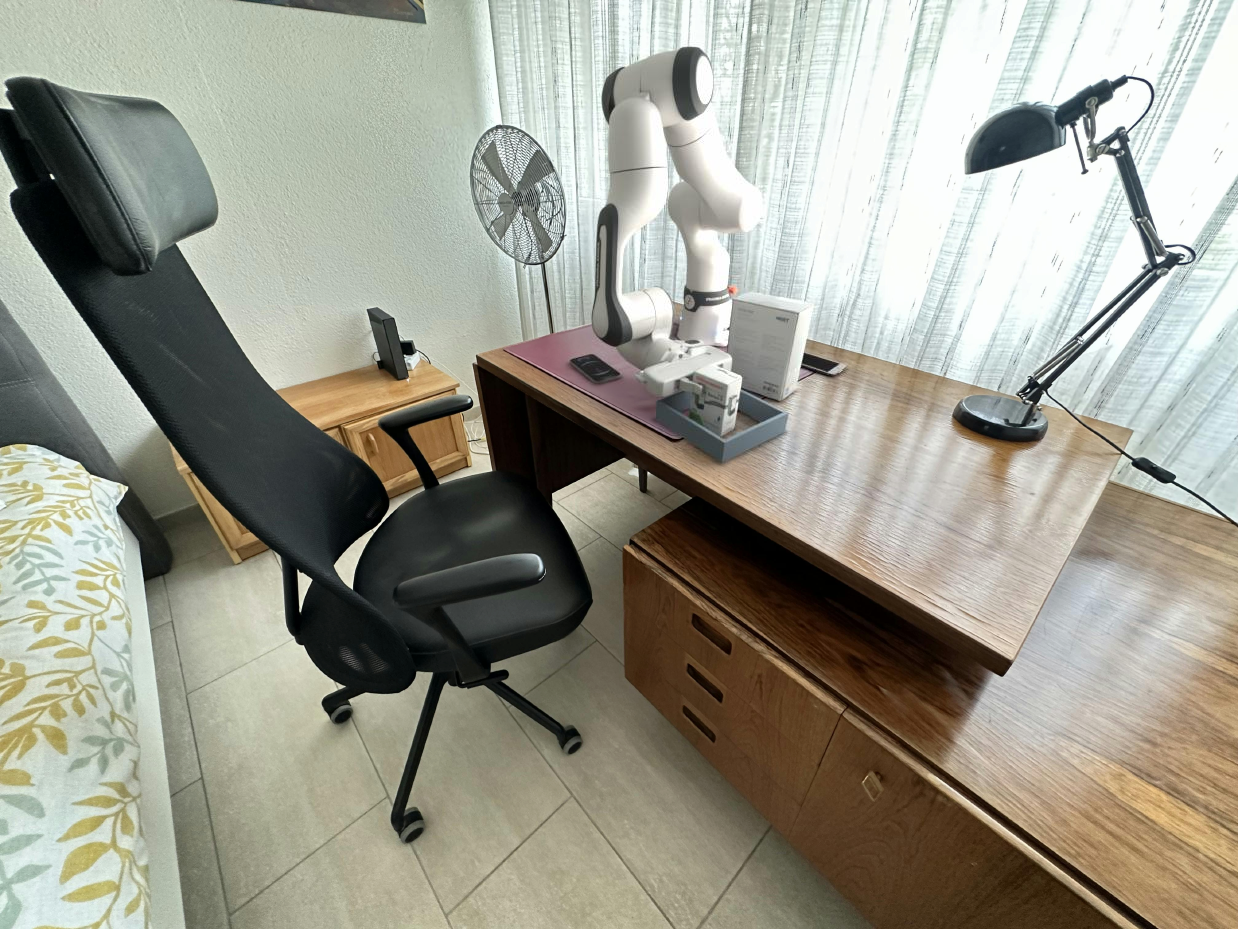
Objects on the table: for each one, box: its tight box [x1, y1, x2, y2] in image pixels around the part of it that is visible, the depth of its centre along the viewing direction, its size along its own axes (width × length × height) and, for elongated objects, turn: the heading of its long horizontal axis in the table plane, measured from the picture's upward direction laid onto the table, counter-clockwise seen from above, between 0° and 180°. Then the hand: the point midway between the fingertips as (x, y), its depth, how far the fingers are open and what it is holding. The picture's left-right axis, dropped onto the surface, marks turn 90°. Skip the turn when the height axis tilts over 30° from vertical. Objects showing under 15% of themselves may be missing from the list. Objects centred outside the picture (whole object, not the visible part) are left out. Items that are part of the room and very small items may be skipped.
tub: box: [655, 388, 790, 464], centre depth 96 cm, size 18×20×4 cm
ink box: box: [688, 364, 742, 438], centre depth 94 cm, size 9×5×12 cm, turn 43°
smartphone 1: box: [569, 353, 621, 385], centre depth 120 cm, size 8×1×15 cm
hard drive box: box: [725, 291, 815, 402], centre depth 105 cm, size 16×8×20 cm, turn 47°
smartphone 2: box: [800, 351, 847, 377], centre depth 120 cm, size 7×15×1 cm, turn 43°
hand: (715, 385), depth 92 cm, fingers closed on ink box, 5 cm apart
